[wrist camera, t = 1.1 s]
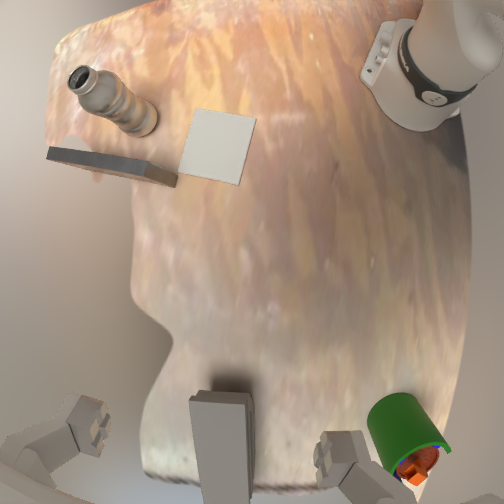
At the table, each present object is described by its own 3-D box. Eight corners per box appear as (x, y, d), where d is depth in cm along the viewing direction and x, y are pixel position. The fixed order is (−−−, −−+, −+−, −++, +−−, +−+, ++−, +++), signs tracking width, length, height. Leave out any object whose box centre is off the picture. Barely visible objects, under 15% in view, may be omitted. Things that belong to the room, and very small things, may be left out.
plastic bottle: (151, 144, 50) (85, 106, 30) (120, 133, 50) (50, 97, 31) (167, 110, 49) (110, 58, 29) (136, 101, 50) (73, 52, 30)
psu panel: (90, 157, 51) (50, 144, 39) (178, 173, 50) (147, 158, 38) (87, 170, 52) (46, 159, 40) (174, 187, 50) (143, 176, 38)
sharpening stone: (255, 477, 52) (249, 514, 42) (216, 474, 53) (205, 510, 42) (253, 372, 51) (244, 404, 40) (206, 369, 52) (188, 400, 41)
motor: (392, 441, 49) (422, 511, 29) (356, 428, 50) (378, 503, 30) (424, 400, 48) (469, 463, 28) (389, 384, 48) (429, 452, 29)
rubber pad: (197, 109, 49) (196, 108, 48) (256, 119, 48) (255, 118, 47) (178, 172, 50) (177, 172, 49) (238, 185, 49) (238, 185, 48)
